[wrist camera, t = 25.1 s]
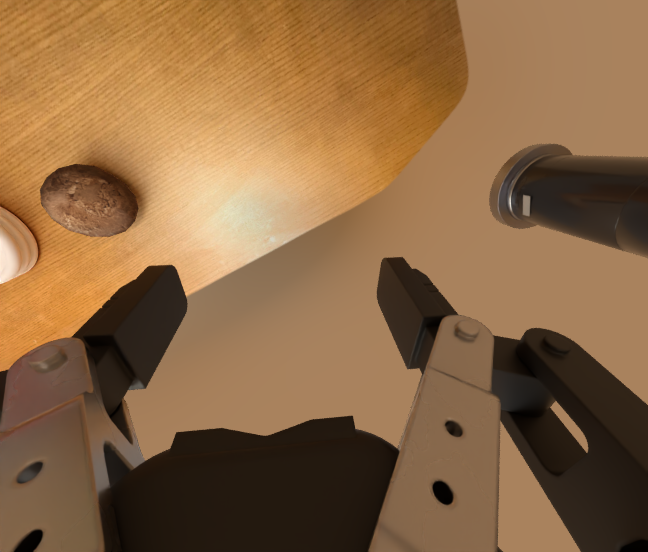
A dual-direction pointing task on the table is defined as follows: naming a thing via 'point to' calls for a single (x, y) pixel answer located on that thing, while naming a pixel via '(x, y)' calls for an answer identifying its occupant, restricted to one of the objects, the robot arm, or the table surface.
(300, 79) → the table surface
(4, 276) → the white round flat piece
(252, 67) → the table surface
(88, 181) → the mushroom
